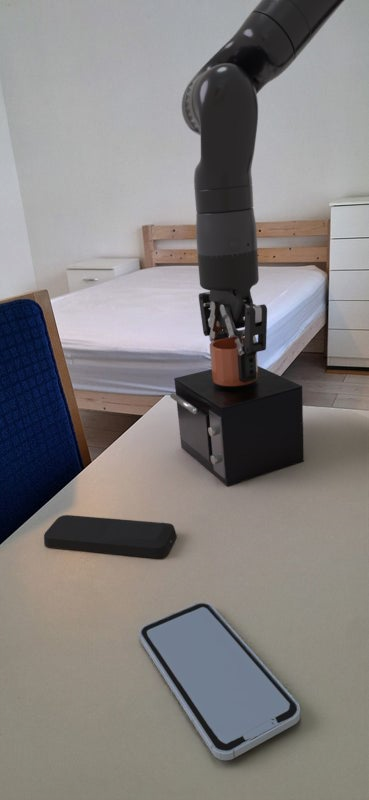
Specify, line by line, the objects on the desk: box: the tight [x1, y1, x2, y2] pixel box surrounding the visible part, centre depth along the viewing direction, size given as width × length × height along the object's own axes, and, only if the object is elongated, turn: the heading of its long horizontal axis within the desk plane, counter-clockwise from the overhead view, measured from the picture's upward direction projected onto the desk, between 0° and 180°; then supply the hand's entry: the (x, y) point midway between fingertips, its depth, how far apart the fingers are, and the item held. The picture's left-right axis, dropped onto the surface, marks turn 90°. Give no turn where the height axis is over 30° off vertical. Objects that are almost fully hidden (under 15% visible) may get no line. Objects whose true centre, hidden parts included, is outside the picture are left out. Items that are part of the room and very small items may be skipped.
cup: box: [209, 336, 259, 386], centre depth 80 cm, size 6×6×5 cm
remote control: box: [43, 514, 178, 559], centre depth 68 cm, size 5×2×15 cm
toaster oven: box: [169, 365, 305, 487], centre depth 83 cm, size 14×14×11 cm
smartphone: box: [138, 601, 301, 761], centre depth 49 cm, size 7×1×15 cm
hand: (234, 373), depth 81 cm, fingers closed on cup, 6 cm apart
